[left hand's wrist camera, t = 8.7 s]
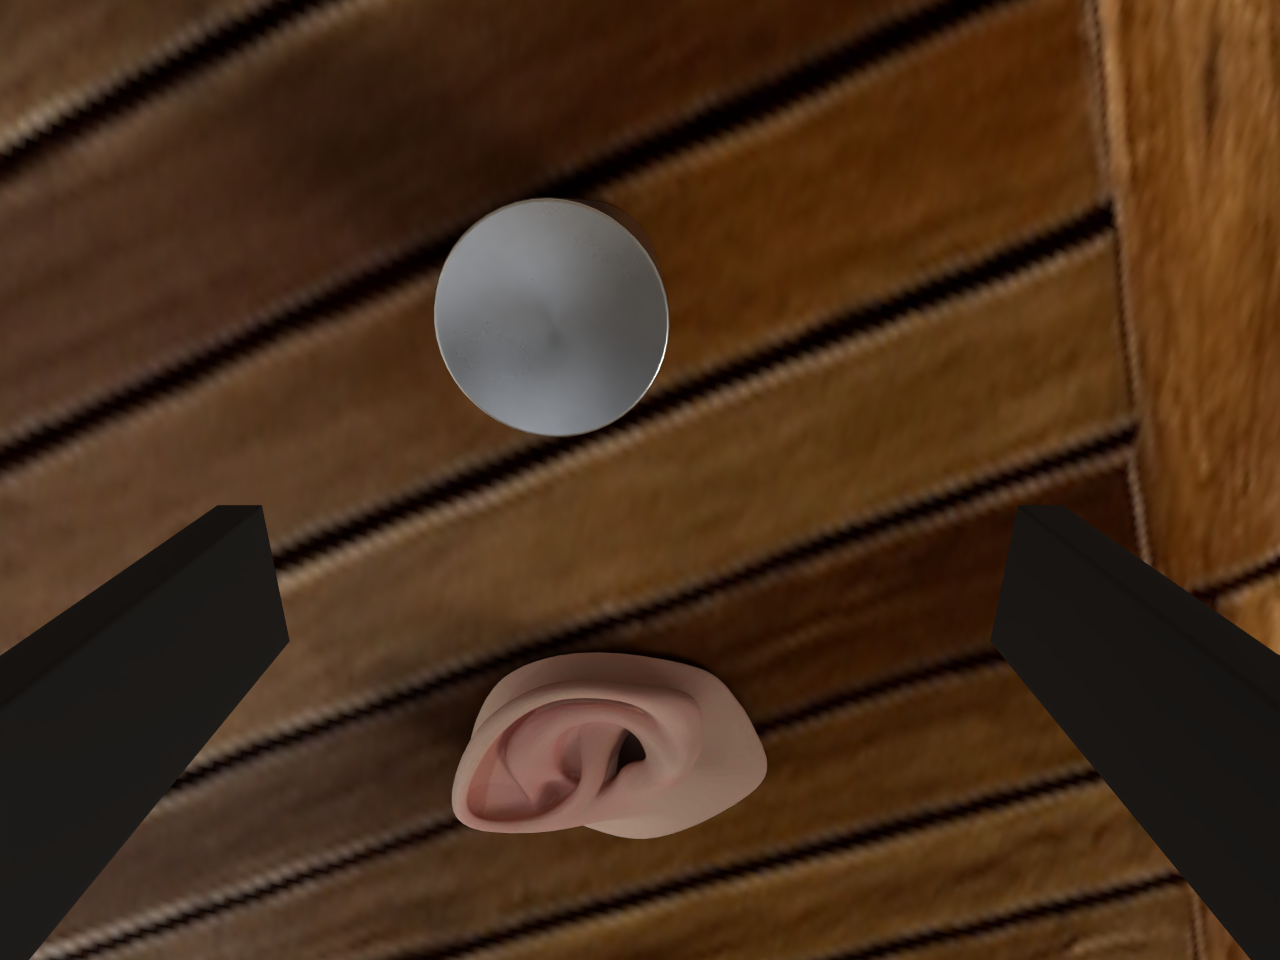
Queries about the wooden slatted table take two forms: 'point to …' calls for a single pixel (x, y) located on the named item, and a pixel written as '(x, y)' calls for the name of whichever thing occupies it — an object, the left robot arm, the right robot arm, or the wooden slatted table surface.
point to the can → (553, 315)
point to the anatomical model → (606, 749)
